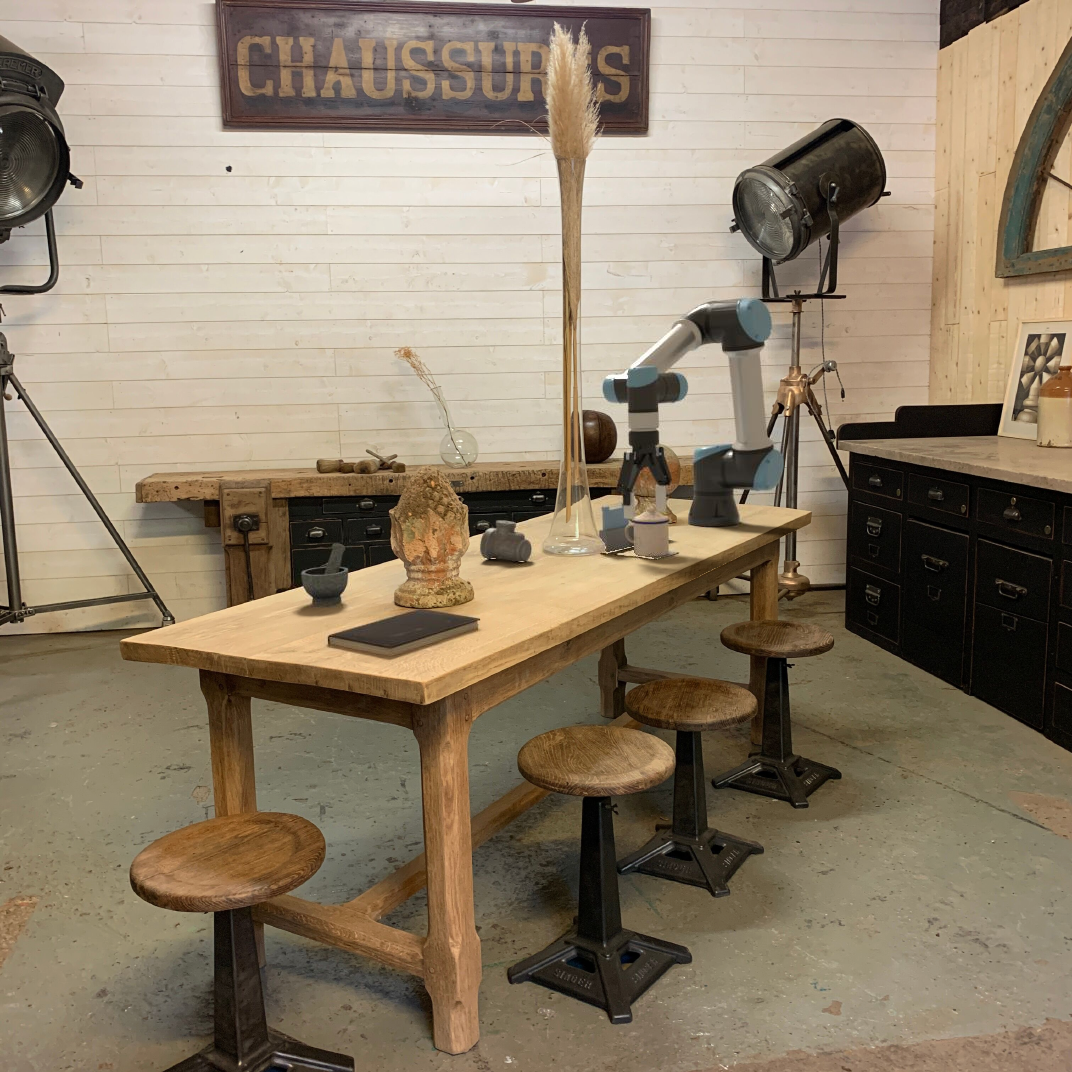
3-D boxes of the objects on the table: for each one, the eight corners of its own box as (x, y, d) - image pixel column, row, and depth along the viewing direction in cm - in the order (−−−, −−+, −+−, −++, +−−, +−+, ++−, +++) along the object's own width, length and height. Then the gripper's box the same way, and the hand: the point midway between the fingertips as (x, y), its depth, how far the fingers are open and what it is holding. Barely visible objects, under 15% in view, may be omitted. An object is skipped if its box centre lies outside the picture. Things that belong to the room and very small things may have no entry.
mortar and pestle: (329, 610, 210) (325, 552, 208) (293, 606, 214) (289, 549, 212) (363, 598, 220) (360, 542, 218) (328, 595, 224) (324, 540, 222)
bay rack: (660, 538, 283) (660, 516, 282) (713, 543, 272) (713, 521, 271) (599, 553, 263) (599, 530, 262) (654, 560, 252) (654, 535, 251)
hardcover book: (480, 630, 192) (480, 618, 191) (391, 660, 174) (390, 646, 174) (418, 619, 202) (418, 608, 201) (327, 646, 184) (326, 634, 183)
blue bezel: (625, 525, 270) (625, 502, 269) (629, 525, 269) (629, 502, 268) (602, 530, 262) (601, 506, 261) (605, 530, 261) (605, 507, 260)
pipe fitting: (476, 559, 257) (480, 519, 256) (496, 557, 264) (500, 517, 262) (514, 569, 251) (519, 528, 249) (534, 566, 257) (538, 526, 256)
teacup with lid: (676, 552, 260) (675, 506, 258) (658, 558, 252) (657, 511, 251) (634, 548, 267) (634, 504, 265) (616, 554, 259) (615, 508, 258)
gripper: (660, 425, 266) (661, 506, 270) (600, 433, 248) (603, 520, 252) (684, 425, 262) (685, 508, 265) (625, 434, 243) (627, 522, 247)
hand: (645, 514), depth 258 cm, fingers open, 13 cm apart
